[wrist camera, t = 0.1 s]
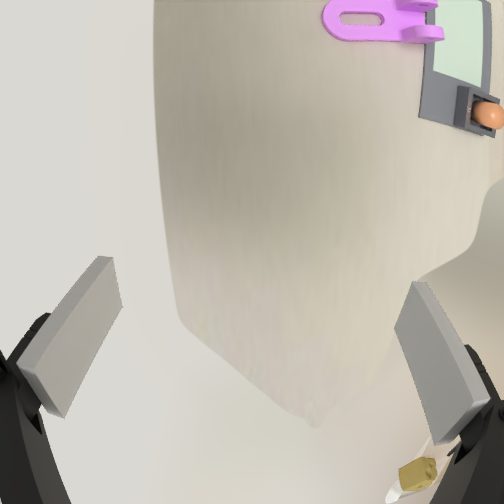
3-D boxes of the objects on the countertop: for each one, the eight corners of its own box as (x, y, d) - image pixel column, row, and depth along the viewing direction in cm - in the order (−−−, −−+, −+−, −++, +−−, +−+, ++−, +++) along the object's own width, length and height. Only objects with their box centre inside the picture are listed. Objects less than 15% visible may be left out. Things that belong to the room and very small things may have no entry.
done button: (471, 97, 29) (488, 100, 26) (488, 104, 29) (506, 108, 26) (468, 120, 31) (485, 125, 27) (485, 126, 31) (503, 132, 27)
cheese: (434, 458, 81) (440, 480, 72) (411, 470, 86) (415, 492, 77) (420, 455, 79) (426, 480, 70) (396, 469, 83) (400, 492, 74)
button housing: (457, 85, 30) (469, 86, 28) (487, 97, 30) (499, 99, 28) (452, 124, 33) (464, 128, 30) (482, 133, 33) (494, 138, 30)
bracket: (416, 5, 26) (441, -6, 20) (423, 43, 29) (450, 39, 23) (317, 1, 28) (327, -16, 22) (325, 41, 30) (337, 32, 24)
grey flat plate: (424, -25, 23) (426, -26, 23) (489, 3, 23) (491, 3, 23) (418, 117, 34) (420, 117, 33) (482, 135, 33) (484, 136, 33)
